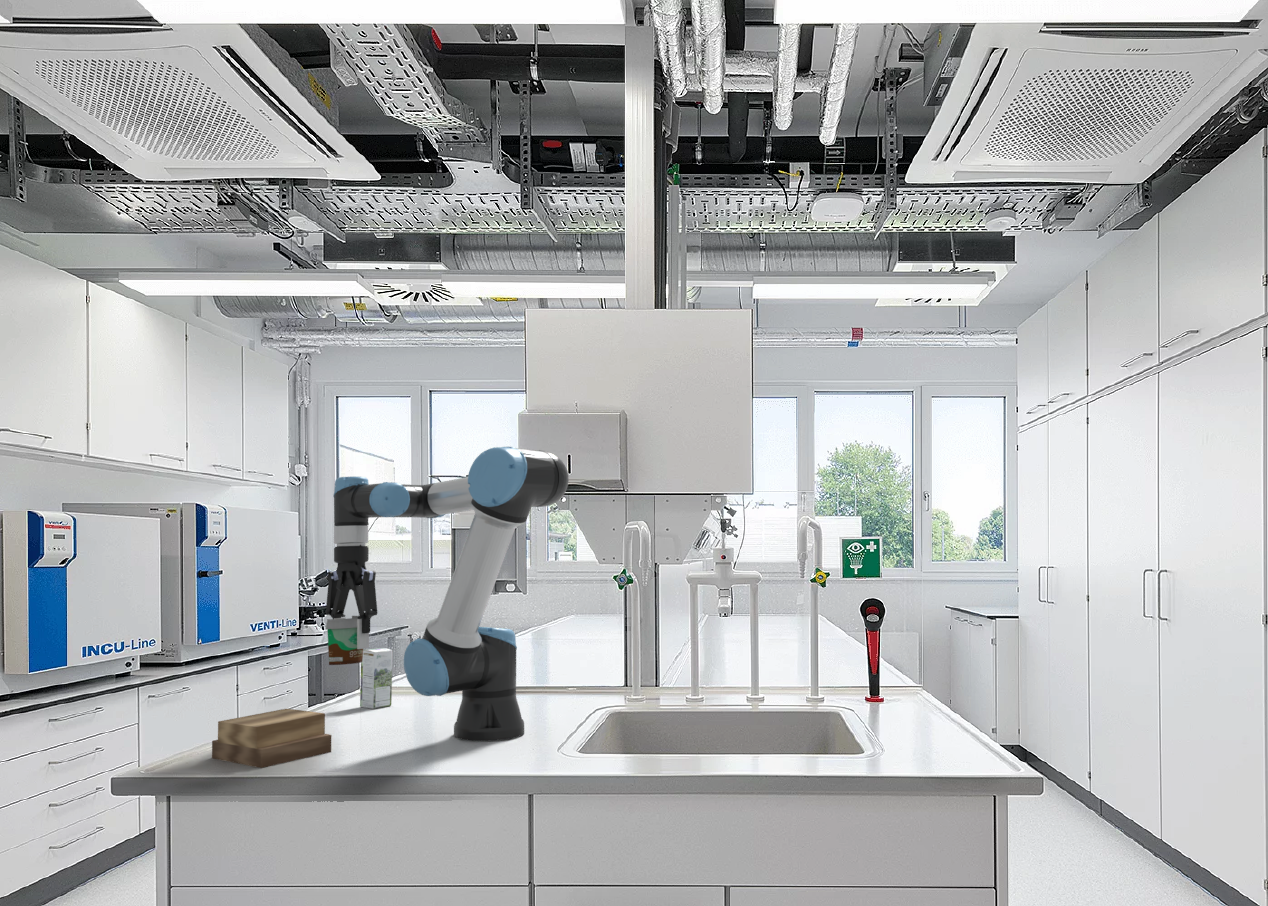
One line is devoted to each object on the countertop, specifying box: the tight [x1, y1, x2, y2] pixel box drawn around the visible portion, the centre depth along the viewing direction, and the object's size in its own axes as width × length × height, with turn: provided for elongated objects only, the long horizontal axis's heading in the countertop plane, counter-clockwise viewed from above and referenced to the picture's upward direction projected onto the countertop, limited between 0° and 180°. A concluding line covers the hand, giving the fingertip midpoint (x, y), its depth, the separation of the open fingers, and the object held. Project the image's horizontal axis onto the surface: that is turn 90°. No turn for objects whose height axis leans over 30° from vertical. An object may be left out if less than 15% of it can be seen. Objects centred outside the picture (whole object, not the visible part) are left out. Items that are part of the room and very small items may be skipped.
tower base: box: [211, 733, 332, 769], centre depth 195 cm, size 16×16×4 cm
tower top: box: [217, 708, 326, 749], centre depth 195 cm, size 12×16×4 cm
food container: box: [325, 615, 364, 666], centre depth 219 cm, size 12×6×10 cm, turn 168°
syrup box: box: [359, 647, 393, 710], centre depth 250 cm, size 6×6×14 cm
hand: (351, 647), depth 219 cm, fingers closed on food container, 7 cm apart
